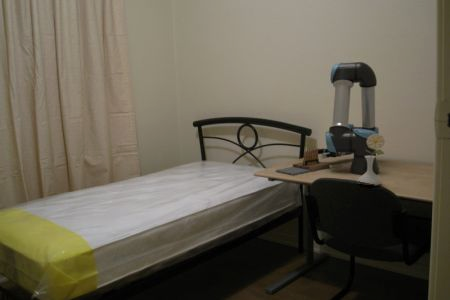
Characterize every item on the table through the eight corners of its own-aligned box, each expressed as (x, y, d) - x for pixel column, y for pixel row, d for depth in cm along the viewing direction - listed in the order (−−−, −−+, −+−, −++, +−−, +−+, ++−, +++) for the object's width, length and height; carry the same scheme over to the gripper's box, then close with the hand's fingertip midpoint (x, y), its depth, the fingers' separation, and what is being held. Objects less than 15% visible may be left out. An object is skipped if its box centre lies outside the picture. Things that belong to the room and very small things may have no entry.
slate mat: (309, 172, 236) (309, 170, 236) (293, 175, 229) (293, 173, 229) (292, 168, 248) (292, 166, 247) (275, 171, 240) (275, 170, 240)
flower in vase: (352, 185, 203) (353, 133, 200) (365, 180, 211) (365, 131, 207) (377, 189, 194) (378, 135, 190) (390, 184, 201) (391, 132, 197)
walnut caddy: (329, 167, 246) (329, 163, 245) (310, 171, 237) (310, 167, 236) (311, 164, 257) (311, 160, 257) (292, 168, 248) (292, 164, 247)
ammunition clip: (316, 166, 250) (316, 146, 248) (319, 167, 249) (319, 147, 247) (303, 169, 245) (302, 148, 243) (305, 169, 243) (304, 149, 242)
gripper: (353, 159, 250) (329, 164, 238) (321, 154, 270) (297, 158, 258) (353, 146, 249) (329, 150, 237) (321, 142, 269) (297, 146, 257)
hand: (312, 155), depth 247 cm, fingers open, 13 cm apart
